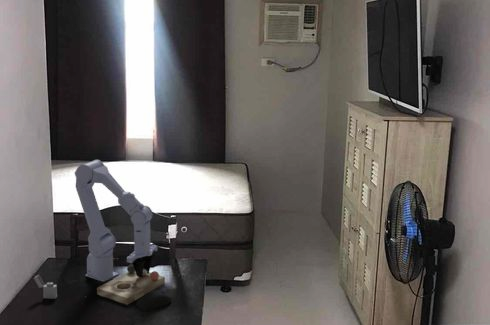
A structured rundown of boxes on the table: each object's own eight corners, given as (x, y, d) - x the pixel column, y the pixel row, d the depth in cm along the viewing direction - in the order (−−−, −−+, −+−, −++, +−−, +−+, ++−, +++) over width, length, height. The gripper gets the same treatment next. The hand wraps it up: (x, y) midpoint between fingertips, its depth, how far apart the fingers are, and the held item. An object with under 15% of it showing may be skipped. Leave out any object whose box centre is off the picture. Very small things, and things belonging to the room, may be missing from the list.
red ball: (148, 280, 190) (148, 272, 189) (153, 277, 193) (153, 269, 192) (155, 282, 189) (155, 274, 188) (160, 279, 191) (160, 271, 191)
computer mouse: (173, 302, 180) (173, 292, 179) (144, 312, 173) (144, 301, 172) (163, 296, 185) (163, 285, 184) (134, 305, 177) (134, 294, 176)
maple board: (97, 294, 184) (96, 287, 183) (135, 274, 201) (135, 268, 200) (127, 304, 177) (127, 298, 176) (164, 283, 194) (164, 276, 193)
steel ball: (136, 276, 193) (136, 268, 192) (142, 273, 195) (142, 265, 195) (143, 278, 191) (143, 270, 191) (149, 275, 194) (148, 267, 193)
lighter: (57, 296, 182) (56, 274, 180) (55, 298, 180) (54, 277, 178) (36, 295, 182) (35, 274, 180) (34, 298, 180) (33, 276, 178)
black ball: (125, 273, 195) (125, 265, 195) (131, 270, 198) (131, 262, 197) (131, 275, 194) (131, 267, 193) (137, 272, 197) (137, 264, 196)
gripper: (137, 248, 182) (137, 284, 185) (163, 236, 194) (163, 270, 197) (122, 244, 186) (122, 279, 189) (149, 232, 198) (149, 266, 201)
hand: (142, 274), depth 193 cm, fingers closed on steel ball, 3 cm apart
